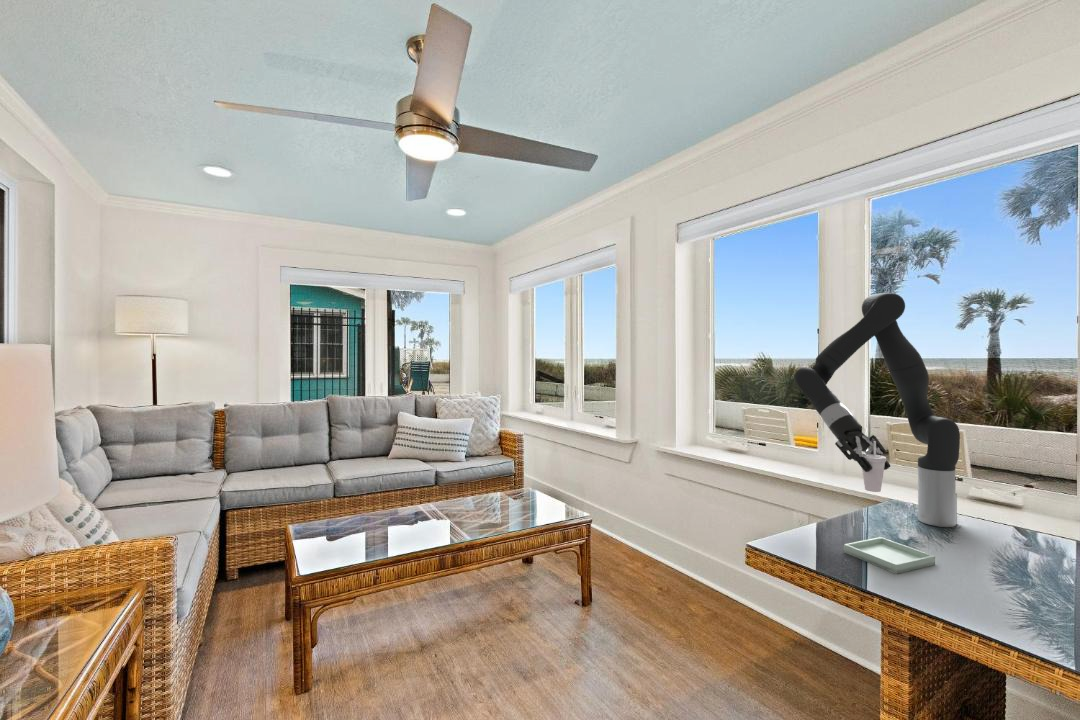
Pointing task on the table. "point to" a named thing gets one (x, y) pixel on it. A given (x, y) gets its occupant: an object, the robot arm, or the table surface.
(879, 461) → the smoothie
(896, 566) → the tray
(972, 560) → the table surface
